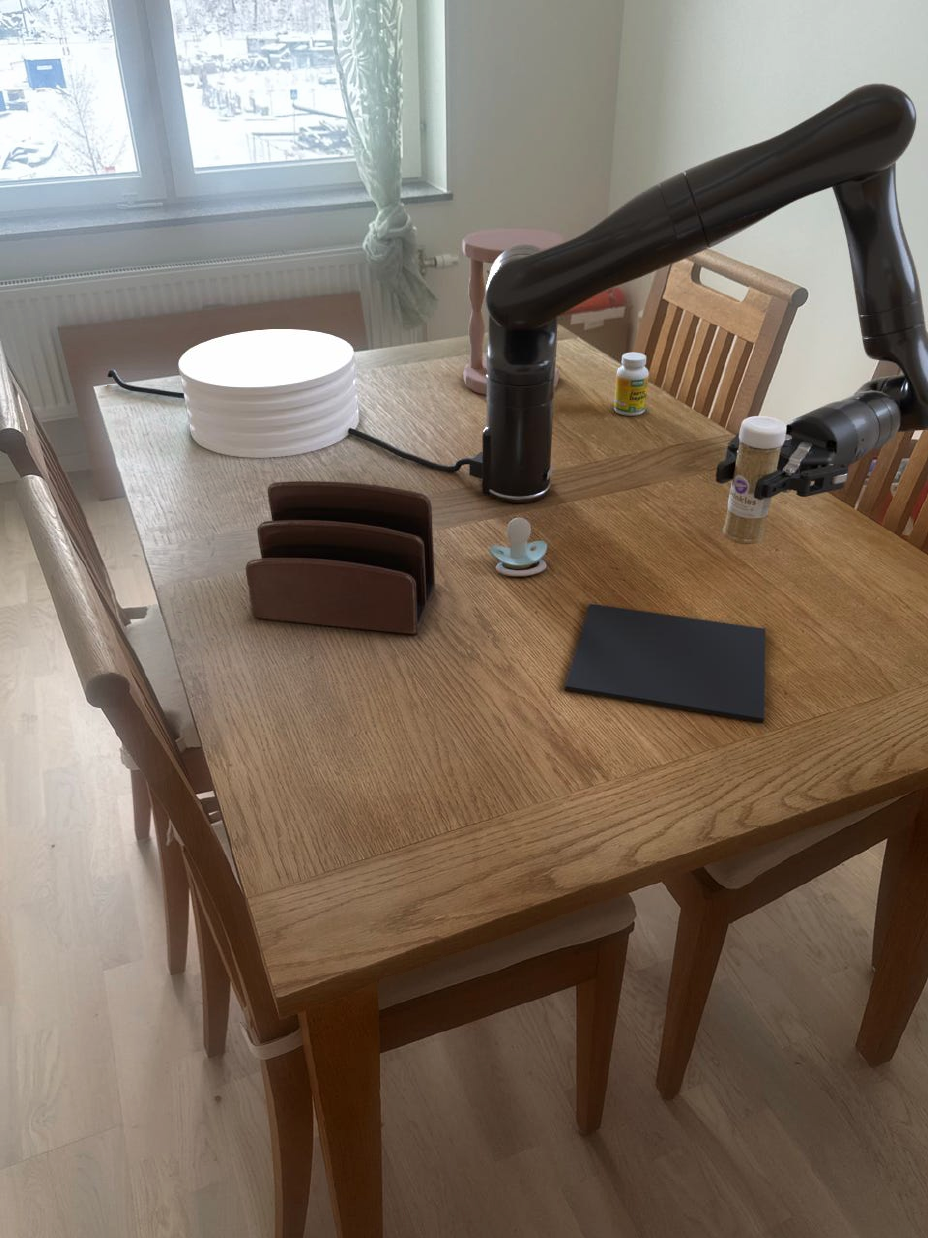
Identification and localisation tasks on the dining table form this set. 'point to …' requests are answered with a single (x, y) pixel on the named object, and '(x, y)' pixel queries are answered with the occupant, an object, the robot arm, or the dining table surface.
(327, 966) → the dining table surface
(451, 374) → the dining table surface
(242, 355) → the plate stack
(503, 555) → the pacifier
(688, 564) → the dining table surface
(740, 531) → the sprinkles bottle
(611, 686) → the placemat
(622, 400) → the supplement bottle
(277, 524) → the letter holder
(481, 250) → the hourglass
